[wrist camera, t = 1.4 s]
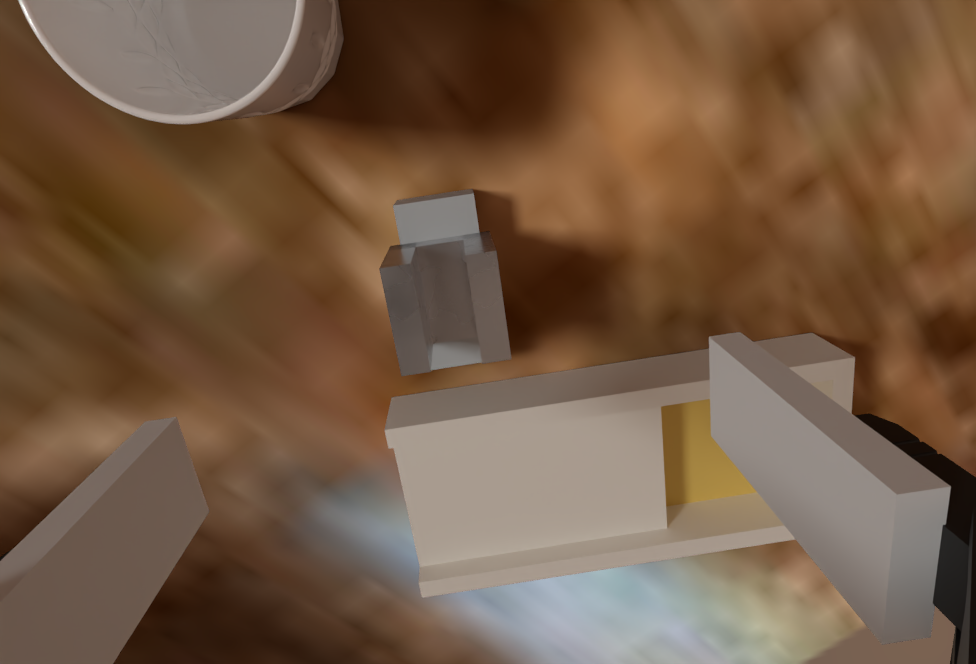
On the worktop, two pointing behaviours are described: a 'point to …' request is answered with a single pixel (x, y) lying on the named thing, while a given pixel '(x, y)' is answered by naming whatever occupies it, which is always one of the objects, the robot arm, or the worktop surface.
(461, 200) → the grey tall rectangular block
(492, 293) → the clip
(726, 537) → the box with sliding lid
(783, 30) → the worktop surface
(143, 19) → the white cup
